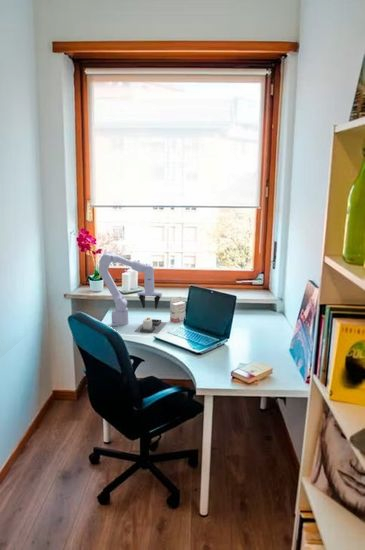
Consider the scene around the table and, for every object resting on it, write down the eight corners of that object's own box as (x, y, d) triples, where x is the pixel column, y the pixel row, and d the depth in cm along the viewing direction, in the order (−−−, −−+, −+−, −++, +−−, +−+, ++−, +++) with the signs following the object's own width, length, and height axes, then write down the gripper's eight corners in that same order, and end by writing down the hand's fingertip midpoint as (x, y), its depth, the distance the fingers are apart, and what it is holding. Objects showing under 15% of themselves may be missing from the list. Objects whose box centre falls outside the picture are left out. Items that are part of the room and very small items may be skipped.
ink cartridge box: (175, 323, 245) (174, 300, 242) (170, 321, 249) (169, 298, 246) (186, 320, 250) (185, 297, 247) (180, 318, 254) (180, 295, 251)
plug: (143, 331, 230) (143, 319, 229) (145, 328, 234) (145, 317, 233) (150, 331, 229) (149, 320, 228) (152, 329, 233) (152, 317, 232)
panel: (133, 333, 229) (133, 329, 229) (145, 322, 248) (145, 318, 248) (157, 335, 226) (157, 330, 226) (167, 323, 245) (167, 319, 245)
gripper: (135, 286, 239) (136, 308, 242) (159, 287, 235) (159, 310, 238) (139, 283, 245) (140, 305, 248) (162, 285, 242) (163, 307, 245)
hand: (150, 307), depth 244 cm, fingers open, 7 cm apart
